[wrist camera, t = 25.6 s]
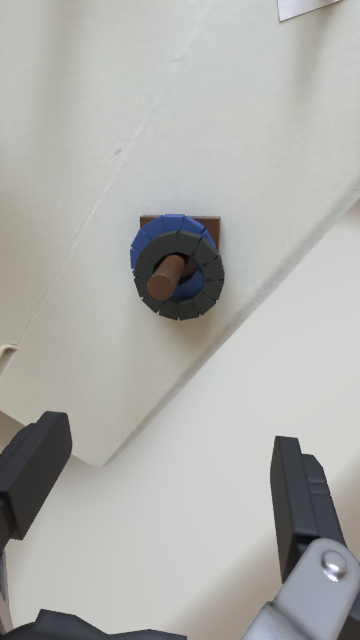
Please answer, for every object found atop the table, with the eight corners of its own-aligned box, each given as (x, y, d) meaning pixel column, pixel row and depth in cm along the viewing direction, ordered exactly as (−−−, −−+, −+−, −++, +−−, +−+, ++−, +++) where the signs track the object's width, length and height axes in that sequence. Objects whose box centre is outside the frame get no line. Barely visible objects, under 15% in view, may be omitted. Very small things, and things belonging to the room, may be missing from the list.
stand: (146, 288, 43) (114, 330, 32) (142, 215, 39) (106, 233, 28) (216, 291, 42) (210, 337, 30) (220, 216, 38) (214, 237, 27)
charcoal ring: (132, 299, 40) (127, 306, 38) (148, 219, 36) (144, 222, 34) (209, 322, 40) (208, 329, 38) (235, 244, 36) (235, 248, 34)
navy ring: (136, 293, 42) (132, 298, 40) (133, 212, 38) (128, 215, 36) (214, 298, 40) (213, 304, 39) (218, 215, 36) (217, 217, 35)
